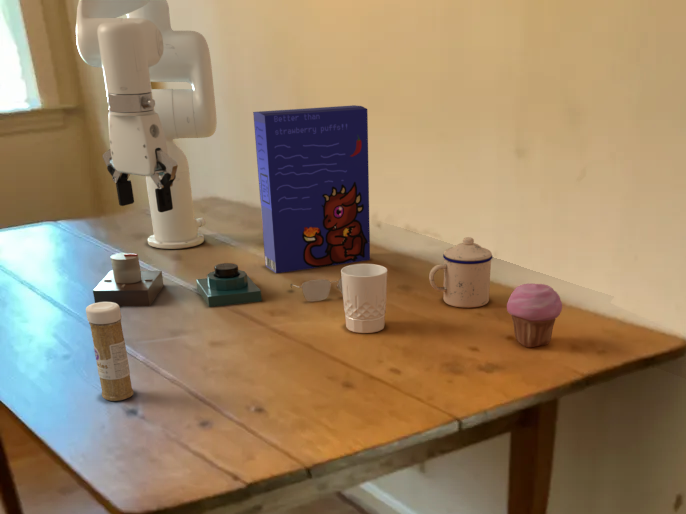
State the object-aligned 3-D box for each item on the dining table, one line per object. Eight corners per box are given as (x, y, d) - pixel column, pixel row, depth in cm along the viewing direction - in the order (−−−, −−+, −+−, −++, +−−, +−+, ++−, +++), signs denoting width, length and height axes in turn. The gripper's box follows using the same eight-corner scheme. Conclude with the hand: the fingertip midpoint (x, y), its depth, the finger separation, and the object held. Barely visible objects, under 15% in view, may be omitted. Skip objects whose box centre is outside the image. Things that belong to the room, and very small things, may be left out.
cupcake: (523, 355, 146) (528, 294, 141) (495, 339, 153) (498, 280, 148) (568, 347, 150) (574, 287, 145) (538, 331, 156) (543, 273, 151)
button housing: (197, 289, 177) (194, 268, 175) (247, 284, 180) (245, 263, 178) (209, 307, 167) (206, 285, 165) (262, 301, 170) (260, 280, 168)
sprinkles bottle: (96, 396, 132) (78, 306, 125) (122, 387, 135) (106, 298, 128) (114, 404, 129) (97, 313, 122) (140, 395, 132) (125, 305, 125)
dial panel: (113, 286, 178) (110, 270, 177) (163, 285, 179) (161, 269, 177) (95, 306, 167) (92, 289, 166) (149, 306, 168) (147, 289, 166)
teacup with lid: (478, 292, 176) (481, 230, 169) (497, 305, 168) (501, 242, 162) (420, 298, 172) (421, 235, 166) (437, 312, 165) (439, 247, 159)
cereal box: (357, 253, 199) (354, 104, 183) (370, 259, 195) (367, 107, 179) (265, 266, 190) (253, 110, 174) (276, 273, 186) (264, 114, 170)
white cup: (394, 322, 160) (393, 265, 155) (378, 337, 154) (377, 278, 148) (352, 317, 162) (351, 261, 157) (335, 331, 156) (333, 273, 151)
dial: (112, 284, 169) (107, 258, 167) (117, 276, 173) (113, 251, 171) (139, 283, 169) (135, 257, 167) (143, 276, 174) (140, 250, 171)
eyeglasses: (300, 303, 169) (298, 281, 167) (289, 294, 176) (287, 273, 174) (370, 295, 174) (369, 273, 172) (356, 286, 180) (355, 266, 179)
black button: (213, 274, 173) (212, 264, 172) (236, 272, 174) (235, 262, 173) (217, 280, 169) (216, 270, 168) (241, 278, 171) (240, 268, 169)
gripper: (183, 105, 154) (195, 209, 163) (111, 98, 162) (127, 198, 171) (151, 110, 149) (166, 217, 158) (79, 103, 156) (97, 206, 166)
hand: (146, 207), depth 164 cm, fingers open, 9 cm apart
